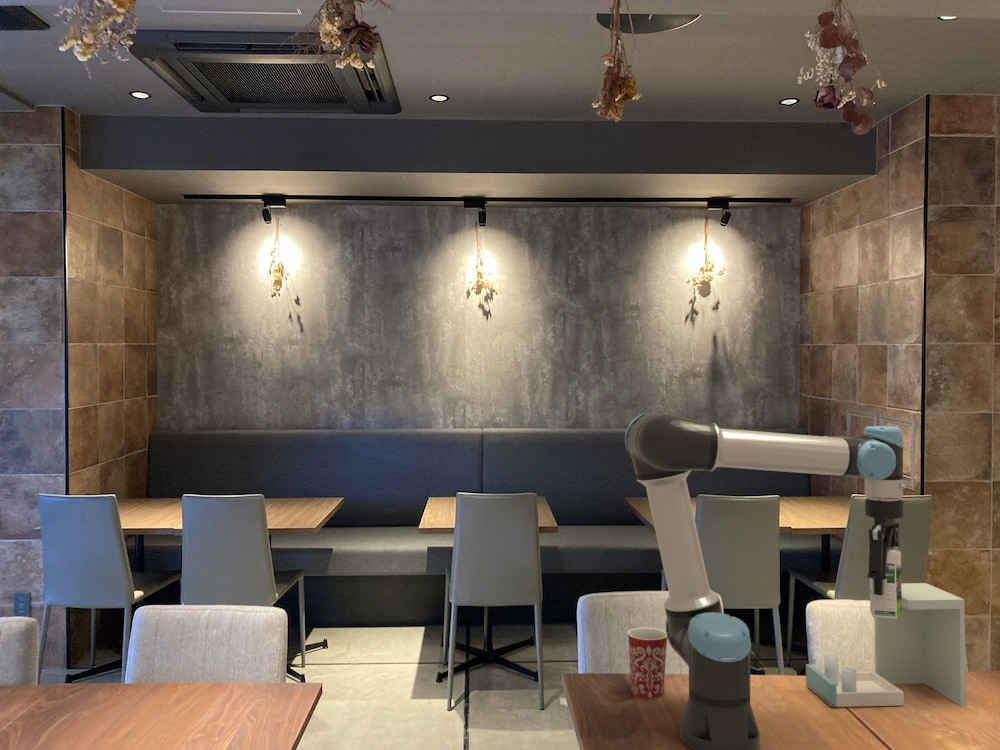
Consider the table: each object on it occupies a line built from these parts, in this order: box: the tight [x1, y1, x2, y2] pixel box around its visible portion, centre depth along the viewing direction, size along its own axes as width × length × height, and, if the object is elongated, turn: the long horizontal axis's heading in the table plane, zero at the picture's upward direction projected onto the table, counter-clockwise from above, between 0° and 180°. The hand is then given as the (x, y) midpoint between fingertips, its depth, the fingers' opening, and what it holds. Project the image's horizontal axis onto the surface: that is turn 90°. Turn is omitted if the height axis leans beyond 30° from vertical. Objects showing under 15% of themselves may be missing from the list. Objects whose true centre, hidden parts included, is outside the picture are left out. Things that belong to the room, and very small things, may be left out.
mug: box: [627, 627, 668, 699], centre depth 192 cm, size 13×9×14 cm
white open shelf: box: [873, 582, 966, 707], centre depth 189 cm, size 12×15×23 cm
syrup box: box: [869, 547, 902, 620], centre depth 180 cm, size 6×6×14 cm
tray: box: [805, 654, 905, 708], centre depth 188 cm, size 16×13×7 cm
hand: (885, 605), depth 180 cm, fingers closed on syrup box, 7 cm apart
